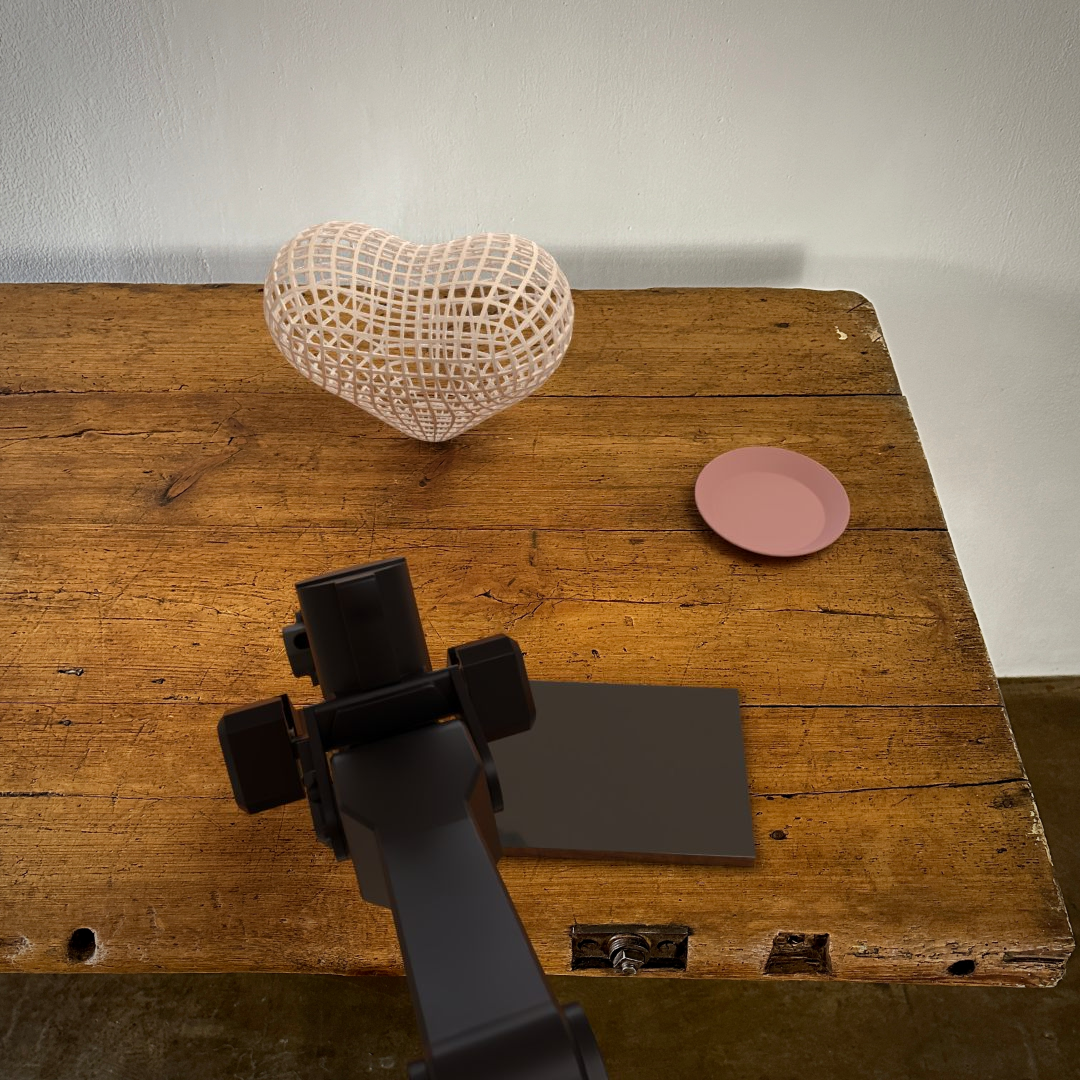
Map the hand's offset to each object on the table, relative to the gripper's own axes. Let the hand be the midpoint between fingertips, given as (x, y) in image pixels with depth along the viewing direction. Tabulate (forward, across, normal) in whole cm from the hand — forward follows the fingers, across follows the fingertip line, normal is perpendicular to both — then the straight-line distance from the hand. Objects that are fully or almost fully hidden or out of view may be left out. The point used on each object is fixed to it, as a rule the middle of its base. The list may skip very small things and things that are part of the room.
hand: (372, 696), depth 68 cm
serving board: (+1, -16, +11) cm, 19 cm away
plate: (+16, -40, -3) cm, 43 cm away
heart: (+30, -13, -18) cm, 38 cm away
